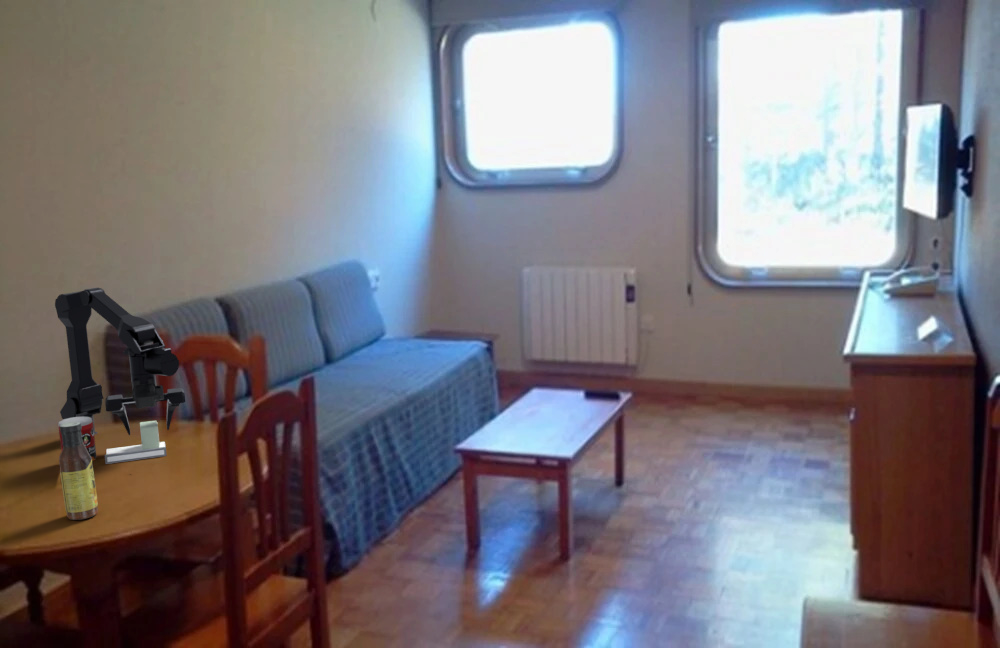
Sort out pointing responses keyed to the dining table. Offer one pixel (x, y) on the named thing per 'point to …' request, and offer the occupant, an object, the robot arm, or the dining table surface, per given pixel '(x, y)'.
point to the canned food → (83, 433)
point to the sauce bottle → (77, 474)
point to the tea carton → (149, 435)
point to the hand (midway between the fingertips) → (148, 432)
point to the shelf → (133, 453)
